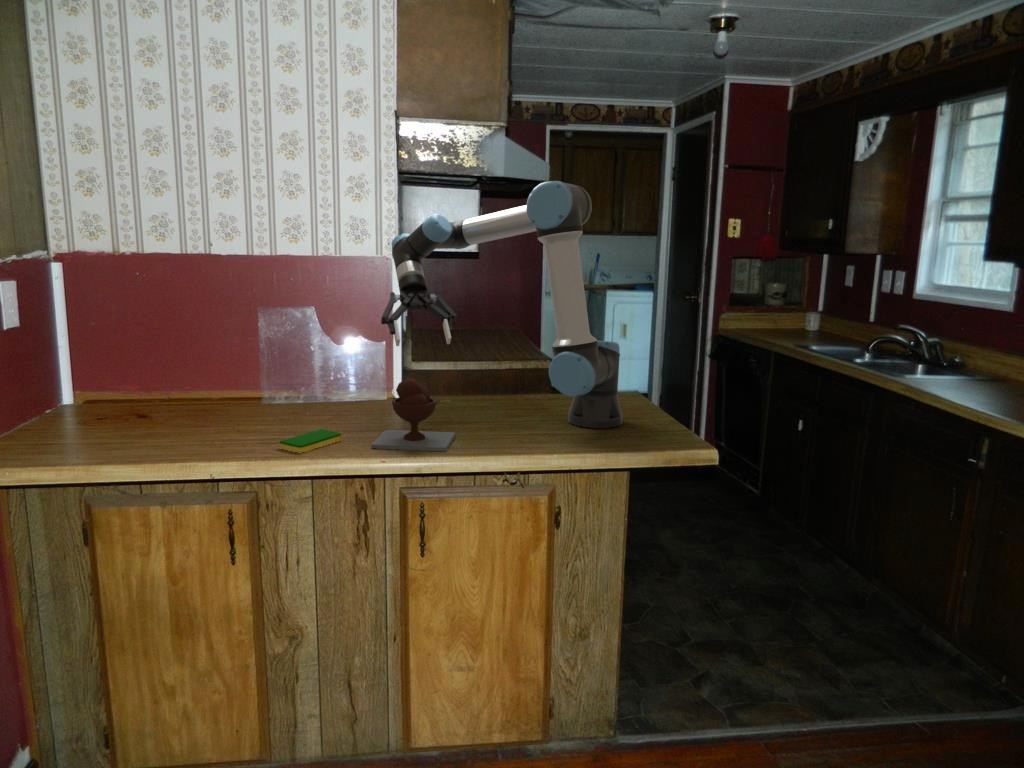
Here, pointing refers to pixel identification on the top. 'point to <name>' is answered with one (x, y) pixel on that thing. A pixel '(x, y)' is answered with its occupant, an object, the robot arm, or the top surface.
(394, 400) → the ice cream bowl
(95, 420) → the top surface
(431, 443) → the mat
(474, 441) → the top surface
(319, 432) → the dish sponge
